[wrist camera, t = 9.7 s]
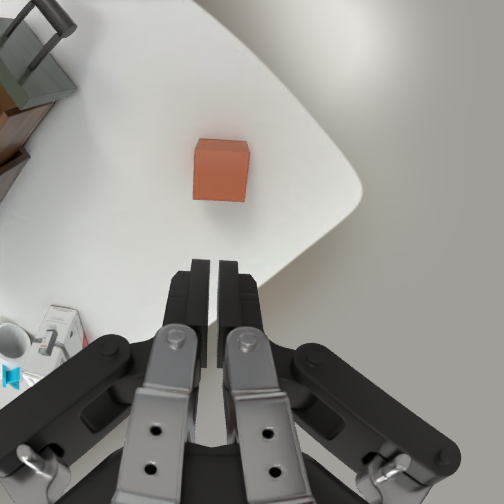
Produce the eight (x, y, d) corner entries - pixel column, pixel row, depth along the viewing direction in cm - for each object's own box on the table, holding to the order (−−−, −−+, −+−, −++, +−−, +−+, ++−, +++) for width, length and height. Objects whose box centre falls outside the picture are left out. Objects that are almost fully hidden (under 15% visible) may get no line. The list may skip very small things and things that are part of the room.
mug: (-7, 395, 32) (-10, 370, 27) (-7, 351, 38) (-7, 318, 33) (49, 403, 40) (58, 381, 36) (45, 361, 46) (55, 331, 41)
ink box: (91, 349, 39) (72, 415, 29) (64, 343, 39) (41, 406, 29) (79, 308, 35) (49, 380, 25) (49, 303, 34) (16, 370, 24)
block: (199, 138, 25) (194, 149, 22) (246, 141, 26) (250, 152, 22) (197, 182, 27) (192, 199, 24) (241, 184, 28) (244, 202, 24)
